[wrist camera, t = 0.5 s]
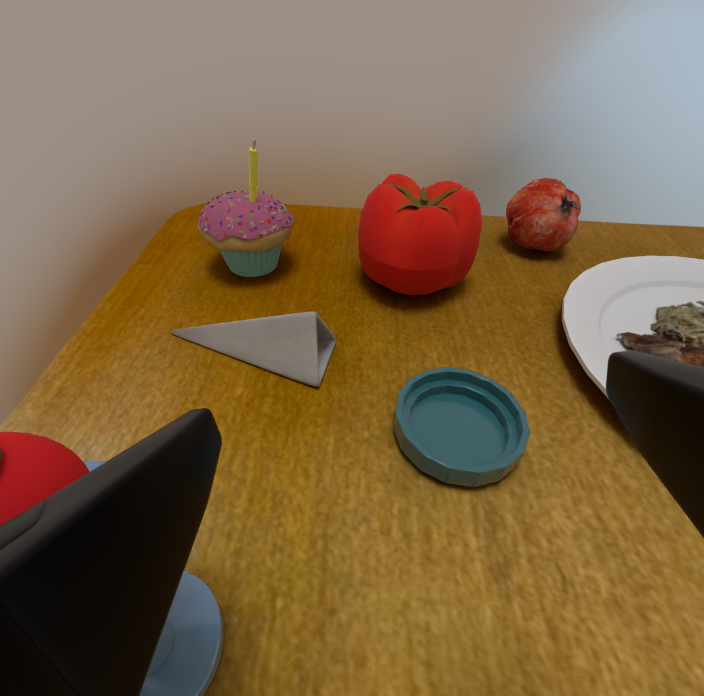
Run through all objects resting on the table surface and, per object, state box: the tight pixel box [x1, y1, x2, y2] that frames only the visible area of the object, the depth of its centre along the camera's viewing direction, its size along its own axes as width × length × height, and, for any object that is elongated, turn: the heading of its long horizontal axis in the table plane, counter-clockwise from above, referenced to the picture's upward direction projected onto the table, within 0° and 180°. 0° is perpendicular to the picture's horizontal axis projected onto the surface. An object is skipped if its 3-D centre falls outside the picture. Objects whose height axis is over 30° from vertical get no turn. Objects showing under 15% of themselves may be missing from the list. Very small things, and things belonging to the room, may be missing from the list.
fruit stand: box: [83, 461, 224, 696], centre depth 14 cm, size 6×6×10 cm
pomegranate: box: [506, 178, 581, 252], centre depth 44 cm, size 7×7×10 cm
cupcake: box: [198, 139, 294, 277], centre depth 37 cm, size 9×8×12 cm
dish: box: [393, 367, 530, 487], centre depth 26 cm, size 8×8×2 cm
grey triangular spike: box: [171, 312, 337, 387], centre depth 31 cm, size 6×5×13 cm
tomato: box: [358, 174, 482, 295], centre depth 37 cm, size 11×12×9 cm
